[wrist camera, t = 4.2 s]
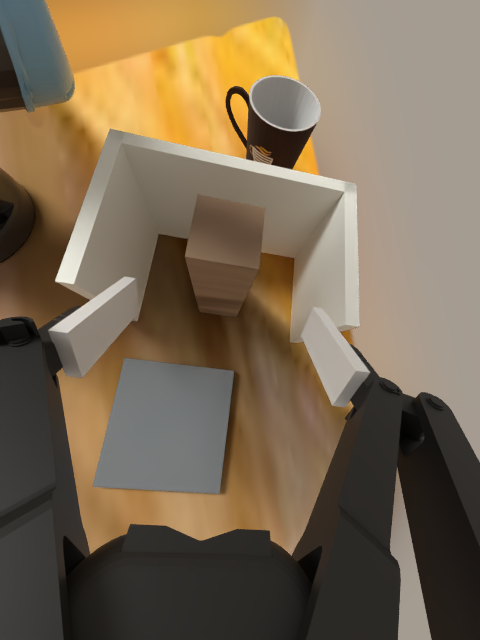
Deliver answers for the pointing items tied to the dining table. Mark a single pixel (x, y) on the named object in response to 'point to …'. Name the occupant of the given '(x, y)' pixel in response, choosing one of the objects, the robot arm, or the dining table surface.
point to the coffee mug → (277, 119)
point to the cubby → (177, 213)
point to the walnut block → (223, 253)
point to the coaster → (166, 428)
